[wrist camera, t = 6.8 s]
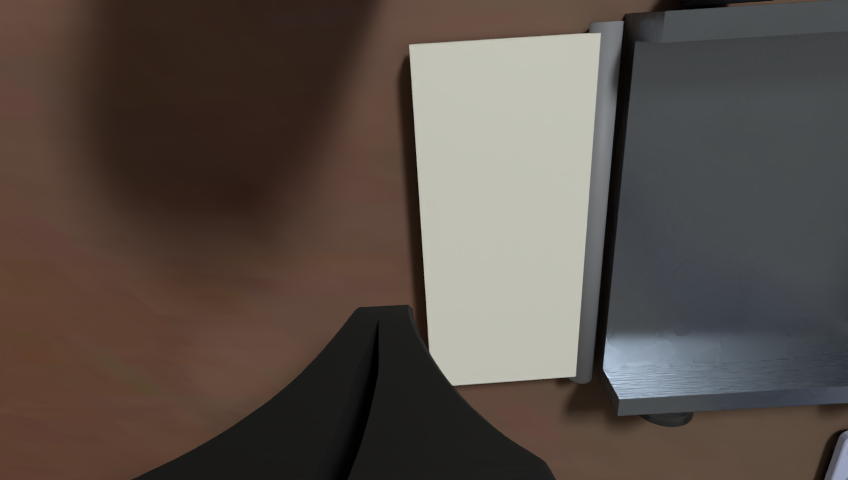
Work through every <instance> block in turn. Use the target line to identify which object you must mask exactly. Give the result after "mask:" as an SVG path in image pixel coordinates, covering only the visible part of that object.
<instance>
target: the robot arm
mask: <svg viewBox="0 0 848 480" xmlns="http://www.w3.org/2000/svg"><path fill="white" fill-rule="evenodd" d="M132 480H556V479H555V477H554V475H553V474H552V472H551V470H550V469H549V467H548V465H547V464H546V462H545V461H543V460H542V459H540V458H539V457H537V456H536V455H534V454H532V453H531V452H529V451H528V450H526V449H524V448H523V447H521V446H520V445H518V444H516V443H515V442H513V441H512V440H510V439H509V438H507V437H506V436H504V435H503V434H502V433H501V432H499V431H498V430H497V429H495V428H494V427H493V426H492V425H491V424H490V423H489V422H488V421H487V420H485V419H484V418H483V417H482V416H481V415H480V414H479V413H478V412H477V411H476V410H474V409H473V408H472V407H471V406H470V405H469V404H468V403H467V401H466V400H465V399H464V398H463V397H462V396H461V395H460V394H459V393H458V392H457V390H456V389H455V388H454V387H453V386H452V384H451V383H450V382H449V381H448V379H447V378H446V377H445V375H444V374H443V373H442V371H441V370H440V368H439V367H438V365H437V364H436V362H435V361H434V359H433V358H432V356H431V354H430V353H429V351H428V349H427V347H426V345H425V343H424V342H423V340H422V338H421V336H420V333H419V331H418V329H417V326H416V324H415V321H414V317H413V309H412V308H411V307H410V306H409V305H395V306H377V307H359V308H357V309H356V310H355V311H354V313H353V314H352V315H351V316H350V318H349V319H348V320H347V322H346V323H345V324H344V325H343V327H342V328H341V329H340V330H339V332H338V333H337V334H336V335H335V337H334V338H333V339H332V340H331V341H330V342H329V343H328V345H327V346H326V347H325V348H324V349H323V350H322V352H321V353H320V354H319V355H318V356H317V357H316V358H315V359H314V360H313V361H312V362H311V363H310V364H309V365H308V366H307V367H306V368H305V369H304V370H303V371H302V373H301V374H300V375H299V376H298V377H296V378H295V379H294V380H293V381H292V382H291V383H290V384H289V385H288V386H286V387H285V388H284V389H283V390H282V391H280V392H279V393H278V394H277V395H275V396H274V397H273V398H272V399H271V400H269V401H268V402H267V403H265V404H264V405H263V406H261V407H260V408H258V409H257V410H255V411H254V412H253V413H251V414H250V415H248V416H247V417H245V418H244V419H243V420H241V421H240V422H238V423H237V424H235V425H234V426H232V427H231V428H229V429H228V430H226V431H224V432H223V433H221V434H219V435H218V436H216V437H215V438H213V439H211V440H209V441H208V442H206V443H204V444H202V445H201V446H199V447H197V448H195V449H193V450H192V451H190V452H188V453H186V454H184V455H182V456H180V457H178V458H176V459H174V460H172V461H170V462H168V463H166V464H164V465H162V466H160V467H158V468H156V469H153V470H151V471H149V472H147V473H145V474H143V475H141V476H139V477H137V478H134V479H132ZM824 480H848V430H847V431H845V432H843V433H842V434H841V435H840V437H839V439H838V442H837V444H836V447H835V450H834V453H833V456H832V459H831V462H830V465H829V467H828V470H827V473H826V476H825V479H824Z"/></svg>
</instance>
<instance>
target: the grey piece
mask: <svg viewBox="0 0 848 480" xmlns="http://www.w3.org/2000/svg"><path fill="white" fill-rule="evenodd" d="M761 1H773V0H681V7H685V6H702V5H717V4H732V3H747V2H761ZM593 370H594V372H595V374H596V375H597V377H598V379H599V381H600V383H601V385H602V387H603V389H604V391H605V393H606V395H607V397H608V399H609V400H610V402H611V404H612V406H613V408H614V410H615V412H616V414H617V416H625V415H639V416H641V417H642V418H644V419H645V420H647V421H649V422H651V423H654V424H657V425H661V426H666V427H678V426H682V425H685V424H687V423H688V422H690V421H691V419H692V417H693V413H694V412H695V411H713V410H731V409H748V408H766V407H784V406H802V405H819V404H837V403H848V0H832V1H816V2H801V3H785V4H769V5H754V6H738V7H723V8H707V9H691V10H676V11H660V12H645V13H630V14H625V25H624V36H623V47H622V58H621V69H620V80H619V91H618V102H617V113H616V124H615V136H614V147H613V158H612V169H611V180H610V191H609V202H608V213H607V224H606V235H605V247H604V258H603V269H602V280H601V291H600V302H599V313H598V324H597V335H596V346H595V358H594V369H593Z"/></svg>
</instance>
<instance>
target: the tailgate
mask: <svg viewBox="0 0 848 480" xmlns="http://www.w3.org/2000/svg"><path fill="white" fill-rule="evenodd" d="M623 24H624V21H611V22H595V23H590V27H589V33H582V34H566V35H551V36H535V37H520V38H504V39H489V40H473V41H458V42H442V43H426V44H411V45H409V52H410V67H411V82H412V98H413V113H414V128H415V143H416V158H417V174H418V189H419V204H420V219H421V234H422V250H423V265H424V280H425V295H426V310H427V326H428V341H429V353H430V354H431V356H432V358H433V359H434V361H435V362H436V364H437V365H438V367H439V368H440V370H441V371H442V373H443V374H444V375H445V377H446V378H447V379H448V381H449V382H450V383H451V384H452V386H454V385H468V384H481V383H495V382H508V381H522V380H536V379H549V378H563V377H568V378H569V379H570V380H571V381H573V382H575V383H580V384H583V383H588V382H590V381H591V379H592V371H593V360H594V348H595V337H596V326H597V315H598V304H599V292H600V281H601V270H602V259H603V248H604V236H605V225H606V214H607V203H608V192H609V180H610V169H611V158H612V147H613V136H614V124H615V113H616V102H617V91H618V80H619V68H620V57H621V46H622V35H623Z"/></svg>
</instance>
